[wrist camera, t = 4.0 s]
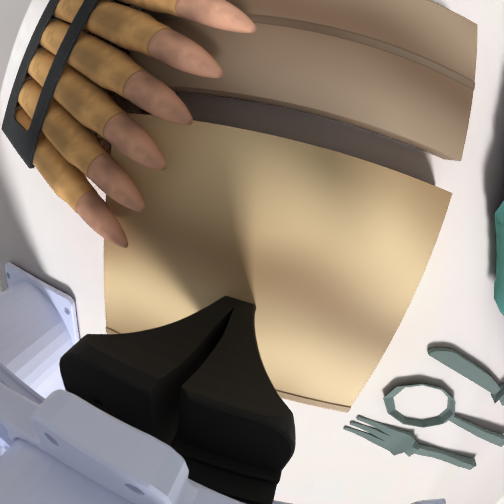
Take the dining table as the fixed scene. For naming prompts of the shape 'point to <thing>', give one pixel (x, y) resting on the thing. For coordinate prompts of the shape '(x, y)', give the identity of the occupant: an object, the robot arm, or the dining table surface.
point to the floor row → (344, 65)
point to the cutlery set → (405, 440)
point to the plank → (274, 249)
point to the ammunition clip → (104, 95)
